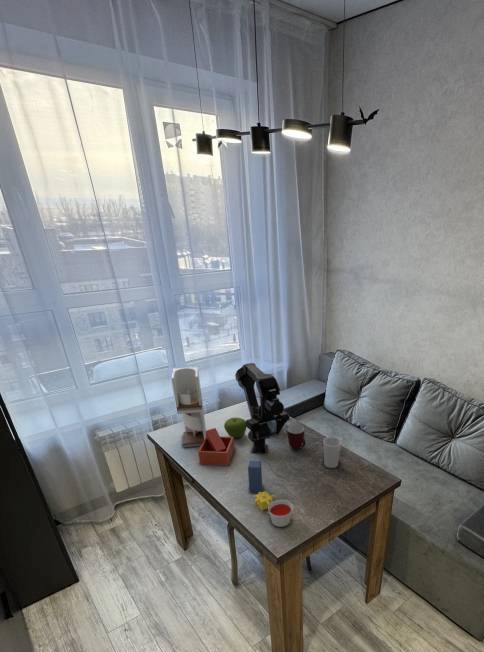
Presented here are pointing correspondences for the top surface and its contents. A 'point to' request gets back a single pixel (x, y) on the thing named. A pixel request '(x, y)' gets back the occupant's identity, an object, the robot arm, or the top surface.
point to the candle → (280, 512)
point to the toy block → (263, 500)
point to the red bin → (216, 457)
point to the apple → (235, 427)
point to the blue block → (255, 476)
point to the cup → (331, 451)
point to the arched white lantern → (189, 404)
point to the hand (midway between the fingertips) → (268, 437)
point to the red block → (215, 440)
